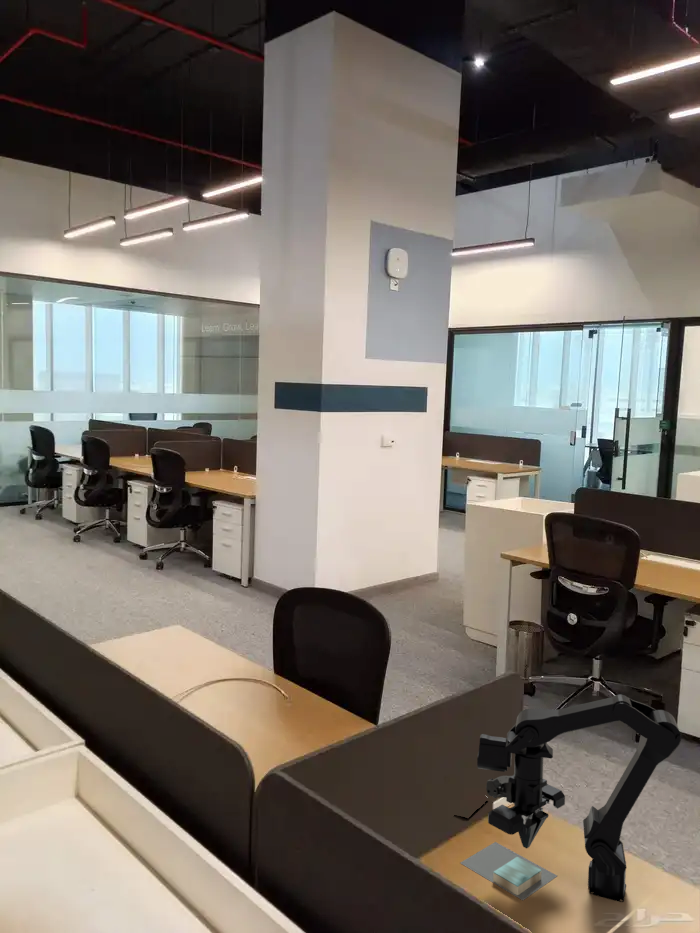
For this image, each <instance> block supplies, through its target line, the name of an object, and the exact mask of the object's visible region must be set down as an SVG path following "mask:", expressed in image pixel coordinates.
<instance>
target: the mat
mask: <svg viewBox="0 0 700 933" xmlns="http://www.w3.org/2000/svg"><path fill="white" fill-rule="evenodd" d="M516 857H519V858H521V859H522V860H524V861H526V862H528V863H530V864H532V865H533V866H535V867H537V868H539V869H541V880H540V881H538V882H537V883H535V884H534V885H532V886H531V887H529V888H528V889H526V890H525V891H524V892H522V893H521V894H519V895H518V896H517V895H516V894H514V893H512V892H511V891H509V890H507V889H506V888H504V887H502V886H501V885H499V884H497V883H496V882H494V881H493V872H494V871H495V870H497V869H499V868H500V867H502V866H503V865H505V864H507V863H508V862H510V861H511V860H513V859H514V858H516ZM460 864H461V865H462V866H464V867H466V868H467V869H469V870H471V871H472V872H475V873H476V874H477V875H479V876H481V877H482V878H484V879H486V880H487V881H488V882H491V883H493V885H496V886H498V887H500V888H501V889H503V890H504V891H506V892H507V893H510V894H511V895H513V896H514V897H516V898H518V899H520V900H521V901H525V900H526V899H528V897H530V896H531V895H533V894H534V893H536V892H538V891H539V890H541V888H543V887H544V886H546V885H547V884H548V883H550V882H551V881H553V880H554V879H556V878H557V877H558V875H557V874H555V873H553V872H552V871H549V870H548V869H546V868H544V867H543V866H540V865H539V864H538V863H535V862H533V861H531V860H530V859H528V858H526V857H524V856H522V855H521V854H518V853H517V852H514V851H513V850H511V849H510V848H507V847H506V846H504V845H502V844H500V843H498V842H496V841H494V842H493V843H491V844H490V845H487V846H486V847H484V848H482V849H481V850H479V851H477V852H476V853H475V854H473V855H470V856H469V857H468V858H465V859H463V860H462V861H460Z"/></svg>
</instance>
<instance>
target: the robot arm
mask: <svg viewBox="0 0 700 933" xmlns="http://www.w3.org/2000/svg"><path fill="white" fill-rule="evenodd" d="M616 722H621V723H624V724H625V725H627V726H628V727H629V728H631V729H632V730H633V731H634V732H636V733H638V734H639V735H640V737H639V742H638V746H637V749H636V751H635V752H634V754H633V755H632V758H631V759H630V761H629V762H628V765H627V766H626V768H625V770H624V771H623V773H622V775H621V777H620V778H619V780H618V782H617V784H616V785H615V787H614V789H613V791H612V793H611V794H610V796H609V797H608V799H607V801H606V802H605V804H604V805H603V806H602V807H600V808H599V809H597V808H596V807H595V806H594V805H592V806H591V807H590V810H589V813H588V815H587V816H586V817H585V818H584V819H583V820H582V821H583V822H582V823H583V838H584V839H583V840H584V849H585V851H586V854H587V855H588V856H589V857H590V858H591V859H592V860H590V861H589V865H588V874H587V875H588V876H587V877H588V878H587V886H588V888H589V894H590V895H591V896H592V895H593V896H597V897H599V898H603V899H604V898H605V899H608V900H612V901H615V902H618V903H624V901H625V896H626V890H627V884H626V875H627V874H626V873H627V861H626V857H625V849H624V843H623V842H622V840H620V839H621V835H622V831H623V825H624V823H625V821H626V820H627V817H628V816H629V814H630V812H631V810H632V809H633V807H634V805H635V804H636V802H637V800H638V799H639V797H640V795H641V793H642V792H643V790H644V788H645V786H646V785H647V784H648V781H649V779H650V778H651V776H652V774H653V772H654V771H655V770H656V768H657V767H658V765H659V764H661V763H662V762H664V761H665V760H666V759H668V758H669V757H670V756H671V755H672V754H673V753H674V752H675V750H676V749H677V748H678V747H680V744H681V742H682V735H681V732H680V730H679V726H678V724H677V721H676V719H675V717H674V716H673V714H671V713H670V712H669V711H666V710H664V709H656V708H653V707H652V706H650V705H648V704H646V703H644V702H640V701H636V700H634V699H632V698H631V697H628V696H627V695H624V694H616V695H614V696H612V697H608V698H603V699H598V700H593V701H590V702H585V703H581V704H577V705H572V706H569V707H562V708H559V709H558V708H557V709H549V708H542V707H541V708H528V709H523V710H521V711H520V712H519V713H518V715H517V717H516V722H515V724H514V725H513V726H512V727H511V728H510V729H509V731H508V732H507V733H506V737H502V736H501V737H500V736H493V735H492V736H491V735H489V734H485V733H482V734H480V736H479V746H478V752H477V758H476V759H477V760H476V761H477V762H476V764H477V766H476V767H477V769H479V770H481V769H482V770H487V771H495V772H503V773H505V772H507V771H508V768H511V767H512V755H513V754H514V763H513V765H514V766H513V767H514V771H513V775H500V776H497V777H496V778H490V779H488V780H486V784H485V791H486V793H487V795H488V796H489V797H492V798H493V799H497V798H505V799H506V800H505V802H507V803H510V804H513V806H511V807H508V806H507V805H504V804H501V805H499V806H497V807H494V808H493V809H491V810H490V811H489V812H487V823H488V824H489V825H490V826H493V827H494V828H496V829H498V830H500V831H502V832H503V833H506V834H507V835H511V836H513V835H515V834H517V833H518V835H519V838H520V841H521V845H522V847H523V848H525V849H529V848H530V846H532V843H533V842H534V840H535V838H536V836H537V834H538V833H539V831H540V829H541V828H542V826H543V824H544V823H545V822H546V820H547V819H548V818H549V813H548V812H545V811H544V808H543V807H545V806H546V805H547V804H549V803H550V802H551V801H552V806H553V807H554V808H555V809H557V810H558V809H559V808H561V807H563V806H565V804H566V796H565V794H564V792H563V791H562V790H561V789H559V788H557V787H555V786H553V785H551V784H548V780H547V779H545V778H544V759H553V758H554V749H553V748H552V747H551V745H549V744H548V743H549V742H551V741H552V740H554V739H556V737H558V736H560V735H562V734H565V733H570V732H574V731H579V730H584V729H587V728H593V727H598V726H601V725H606V724H610V723H611V724H612V723H616ZM550 800H551V801H550Z"/></svg>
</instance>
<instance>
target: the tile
mask: <svg viewBox="0 0 700 933" xmlns="http://www.w3.org/2000/svg"><path fill="white" fill-rule="evenodd" d="M540 880H541V869H539V868H537V867H535V866H533V865H532V864H530V863H528V862H526V861H524V860H522V859H521V858H519V857H516V858H514V859H513V860H511V861H510V862H508V863H507V864H505V865H503V866H502V867H500V868H499V869H497V870H495V871H494V872H493V881H494V882H496V883H497V884H499V885H501V886H502V887H504V888H506V889H507V890H509V891H511V892H512V893H514V894H516V895H517V896H518V895H519V894H521V893H522V892H524V891H525V890H526V889H528V888H529V887H531V886H532V885H534V884H535V883H537V882H538V881H540Z"/></svg>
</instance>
